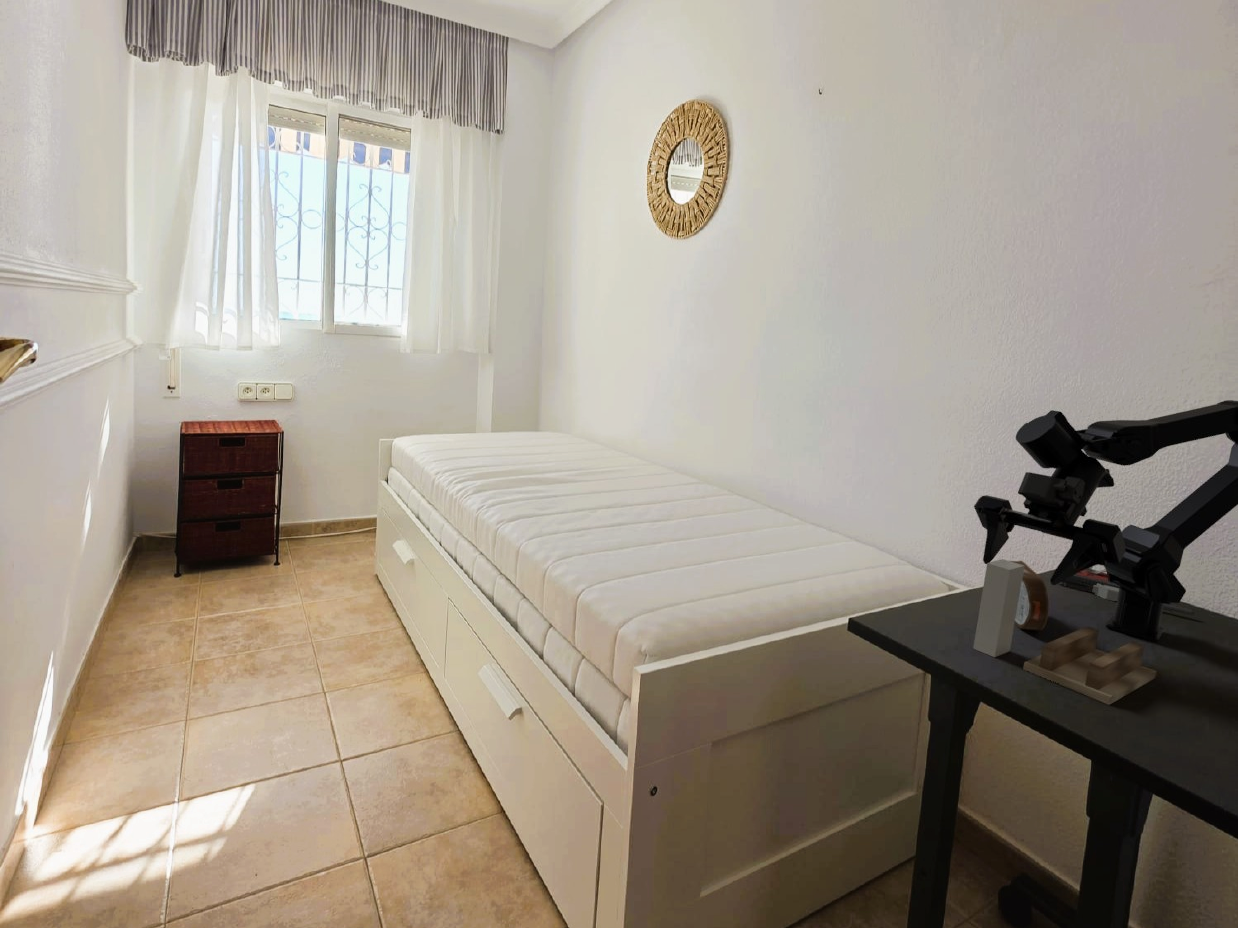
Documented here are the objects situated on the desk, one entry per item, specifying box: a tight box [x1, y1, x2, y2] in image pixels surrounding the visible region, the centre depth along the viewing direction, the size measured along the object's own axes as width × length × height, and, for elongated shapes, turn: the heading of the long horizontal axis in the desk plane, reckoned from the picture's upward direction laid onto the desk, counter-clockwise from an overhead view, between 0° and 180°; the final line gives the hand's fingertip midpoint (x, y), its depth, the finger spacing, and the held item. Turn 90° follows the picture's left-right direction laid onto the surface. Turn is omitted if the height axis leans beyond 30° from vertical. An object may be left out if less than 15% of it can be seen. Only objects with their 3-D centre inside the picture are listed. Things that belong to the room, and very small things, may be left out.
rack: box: [1022, 625, 1157, 705], centre depth 90 cm, size 14×10×4 cm
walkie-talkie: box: [1061, 567, 1196, 616], centre depth 121 cm, size 9×4×20 cm
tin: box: [1009, 560, 1049, 632], centre depth 108 cm, size 15×3×8 cm, turn 168°
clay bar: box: [972, 558, 1024, 658], centre depth 95 cm, size 4×3×12 cm
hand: (1017, 572), depth 97 cm, fingers open, 9 cm apart
